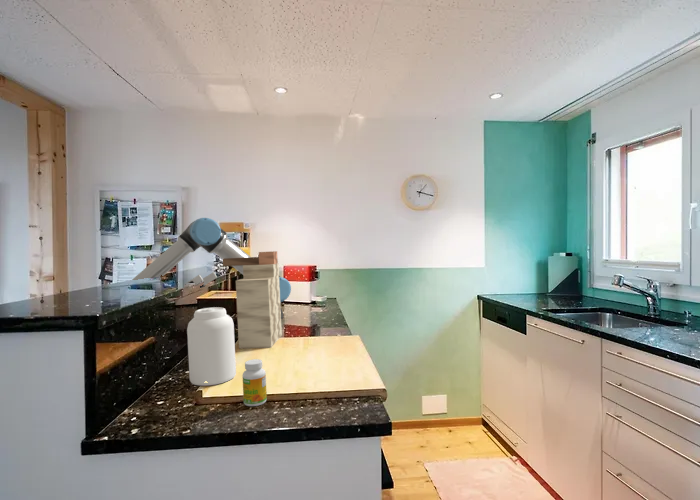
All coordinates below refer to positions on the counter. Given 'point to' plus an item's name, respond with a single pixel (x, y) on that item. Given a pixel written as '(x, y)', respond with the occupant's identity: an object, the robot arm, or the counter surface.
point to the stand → (259, 306)
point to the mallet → (253, 260)
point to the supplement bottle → (254, 383)
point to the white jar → (211, 347)
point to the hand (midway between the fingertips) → (208, 276)
